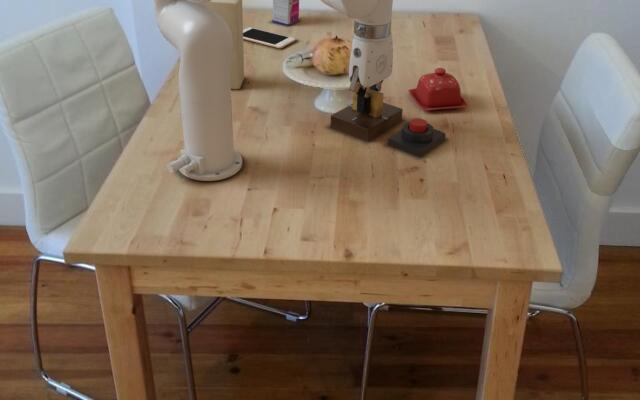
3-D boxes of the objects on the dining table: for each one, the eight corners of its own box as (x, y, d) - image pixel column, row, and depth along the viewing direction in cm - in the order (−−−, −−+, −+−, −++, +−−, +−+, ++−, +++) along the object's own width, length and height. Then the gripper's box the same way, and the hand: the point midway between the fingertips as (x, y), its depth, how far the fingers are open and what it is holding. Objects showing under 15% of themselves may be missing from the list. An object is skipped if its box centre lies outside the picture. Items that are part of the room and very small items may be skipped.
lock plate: (369, 142, 157) (369, 129, 155) (329, 127, 162) (329, 114, 160) (402, 121, 165) (404, 108, 163) (363, 107, 171) (364, 95, 169)
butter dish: (421, 115, 168) (424, 80, 163) (406, 94, 178) (409, 60, 173) (469, 111, 170) (473, 77, 166) (451, 90, 180) (455, 57, 175)
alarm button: (420, 135, 153) (421, 127, 152) (405, 130, 155) (406, 122, 154) (429, 129, 156) (430, 121, 155) (415, 124, 157) (415, 116, 156)
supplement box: (288, 26, 216) (288, -13, 209) (272, 22, 218) (271, -17, 212) (299, 21, 220) (300, -18, 214) (283, 17, 222) (283, -22, 216)
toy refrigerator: (245, 77, 184) (242, -7, 173) (240, 89, 178) (236, 3, 166) (214, 75, 184) (209, -9, 173) (207, 87, 178) (201, 1, 167)
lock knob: (382, 114, 161) (383, 92, 158) (376, 118, 160) (377, 95, 157) (358, 106, 164) (359, 84, 162) (352, 109, 163) (353, 87, 160)
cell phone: (280, 49, 200) (280, 46, 200) (232, 36, 207) (232, 34, 207) (296, 40, 206) (296, 38, 205) (249, 28, 213) (249, 26, 212)
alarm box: (419, 157, 152) (421, 142, 150) (387, 145, 156) (388, 130, 154) (444, 140, 158) (446, 125, 156) (413, 128, 162) (414, 114, 160)
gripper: (363, 43, 145) (359, 127, 154) (409, 22, 155) (402, 103, 165) (333, 34, 148) (331, 117, 158) (380, 14, 159) (374, 93, 169)
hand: (367, 109), depth 162 cm, fingers closed on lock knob, 2 cm apart
